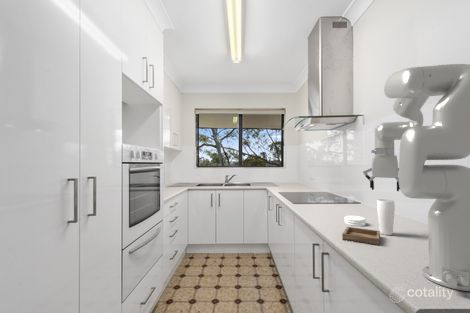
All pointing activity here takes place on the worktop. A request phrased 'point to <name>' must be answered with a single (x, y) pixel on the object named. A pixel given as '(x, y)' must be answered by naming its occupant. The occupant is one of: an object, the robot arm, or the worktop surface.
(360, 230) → the tray
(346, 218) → the white cup lid
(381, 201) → the white tall cup
